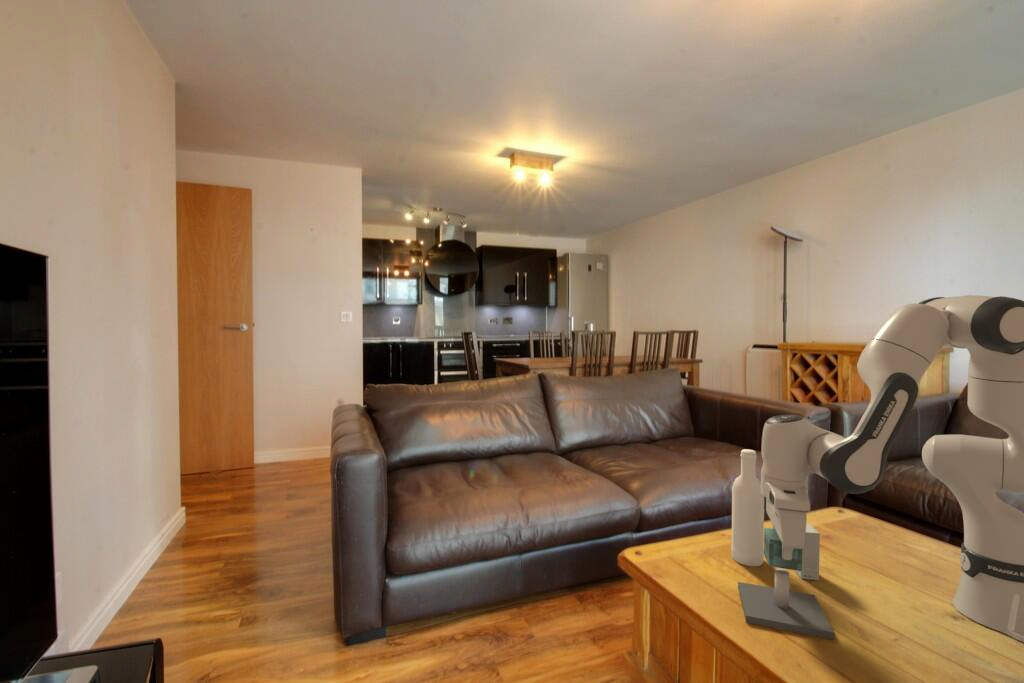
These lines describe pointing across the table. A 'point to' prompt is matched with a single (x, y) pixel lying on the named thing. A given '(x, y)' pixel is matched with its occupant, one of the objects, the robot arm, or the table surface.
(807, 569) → the skincare box
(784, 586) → the post block
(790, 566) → the sage green cube
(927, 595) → the table surface
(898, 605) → the table surface
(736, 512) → the bottle
